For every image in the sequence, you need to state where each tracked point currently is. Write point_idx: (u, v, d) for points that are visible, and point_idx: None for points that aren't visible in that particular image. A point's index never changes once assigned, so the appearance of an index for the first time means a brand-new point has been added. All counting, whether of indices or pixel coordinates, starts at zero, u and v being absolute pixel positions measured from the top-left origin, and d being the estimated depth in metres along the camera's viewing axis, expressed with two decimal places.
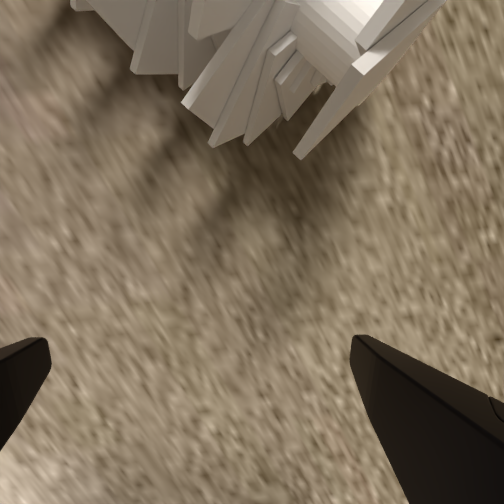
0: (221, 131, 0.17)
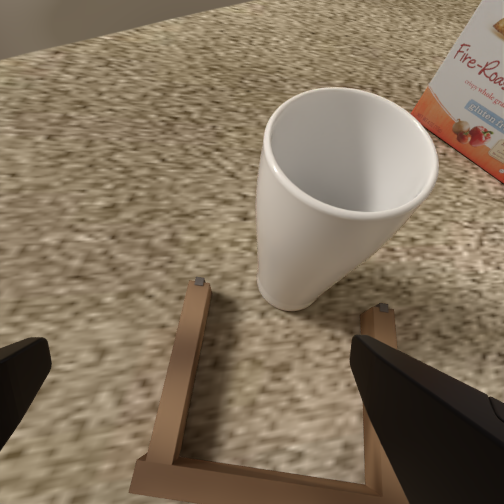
0: None
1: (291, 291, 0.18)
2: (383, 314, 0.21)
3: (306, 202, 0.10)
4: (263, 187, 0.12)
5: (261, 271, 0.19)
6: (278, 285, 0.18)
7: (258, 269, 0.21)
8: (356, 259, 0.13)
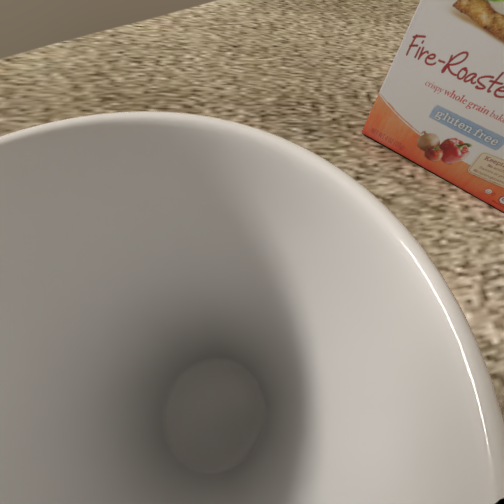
0: None
1: None
2: None
3: None
4: None
5: None
6: None
7: None
8: None
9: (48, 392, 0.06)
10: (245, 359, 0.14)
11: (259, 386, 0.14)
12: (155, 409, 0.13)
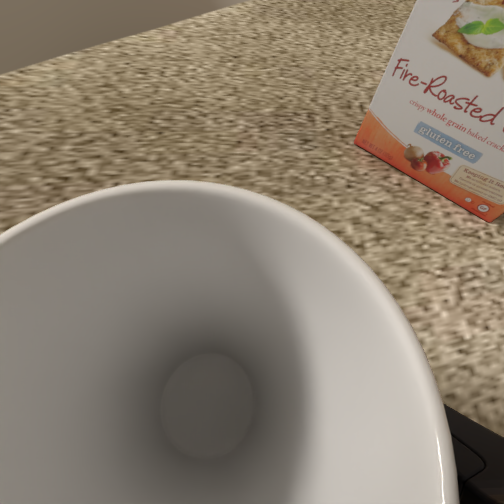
0: None
1: None
2: None
3: None
4: None
5: None
6: None
7: None
8: None
9: (72, 396, 0.07)
10: (239, 357, 0.15)
11: (251, 381, 0.15)
12: (154, 400, 0.14)
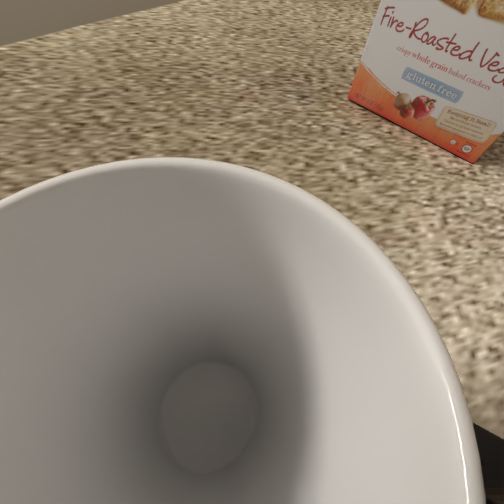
0: None
1: None
2: None
3: None
4: None
5: None
6: None
7: None
8: None
9: (64, 396, 0.07)
10: (241, 365, 0.14)
11: (253, 390, 0.15)
12: (152, 409, 0.13)
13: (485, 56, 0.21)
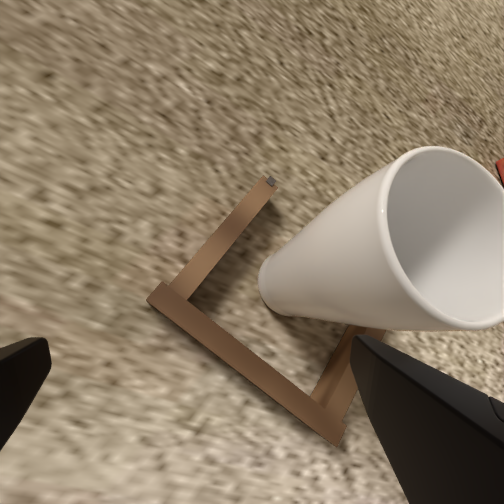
0: None
1: (293, 303, 0.17)
2: None
3: (391, 264, 0.09)
4: (350, 214, 0.11)
5: (276, 267, 0.19)
6: (284, 290, 0.17)
7: (272, 261, 0.20)
8: (382, 327, 0.12)
9: None
10: None
11: None
12: None
13: None
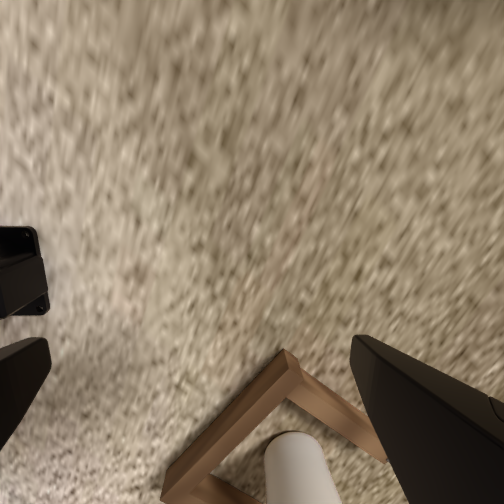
0: None
1: None
2: None
3: None
4: None
5: (313, 484, 0.21)
6: (294, 499, 0.20)
7: (316, 470, 0.22)
8: None
9: None
10: None
11: None
12: None
13: None
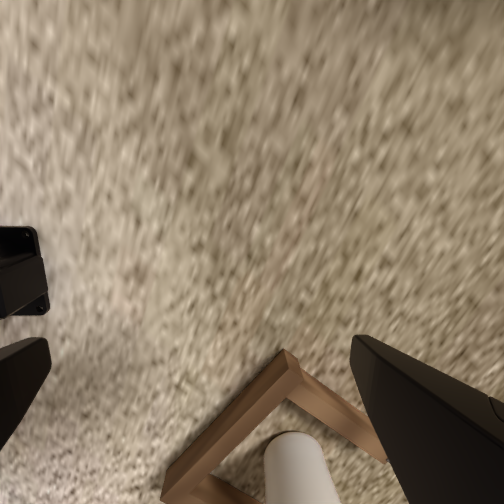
0: None
1: None
2: None
3: None
4: None
5: (312, 484, 0.21)
6: (292, 499, 0.20)
7: (316, 470, 0.22)
8: None
9: None
10: None
11: None
12: None
13: None
